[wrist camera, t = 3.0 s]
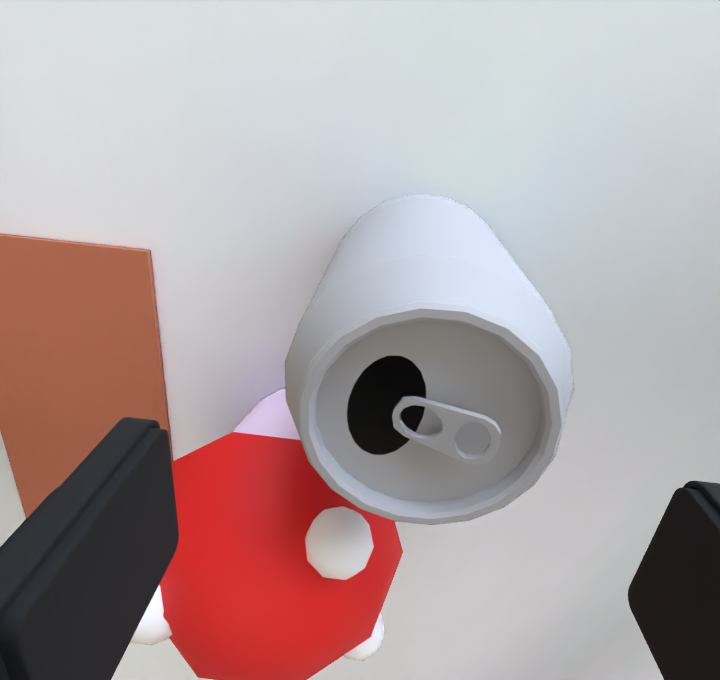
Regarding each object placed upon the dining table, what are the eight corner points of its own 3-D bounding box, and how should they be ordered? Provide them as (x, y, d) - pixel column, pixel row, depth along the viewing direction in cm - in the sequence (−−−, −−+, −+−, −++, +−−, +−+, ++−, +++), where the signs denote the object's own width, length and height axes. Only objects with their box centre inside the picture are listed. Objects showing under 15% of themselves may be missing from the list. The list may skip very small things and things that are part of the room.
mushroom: (439, 402, 25) (466, 628, 14) (358, 539, 29) (330, 789, 18) (244, 321, 24) (107, 497, 13) (191, 477, 28) (58, 702, 17)
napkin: (150, 249, 22) (147, 251, 22) (182, 551, 31) (180, 555, 31) (-54, 227, 23) (-60, 229, 23) (34, 531, 31) (30, 535, 31)
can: (353, 171, 20) (292, 238, 9) (526, 213, 20) (663, 325, 9) (322, 329, 23) (249, 514, 13) (471, 364, 23) (526, 577, 13)
